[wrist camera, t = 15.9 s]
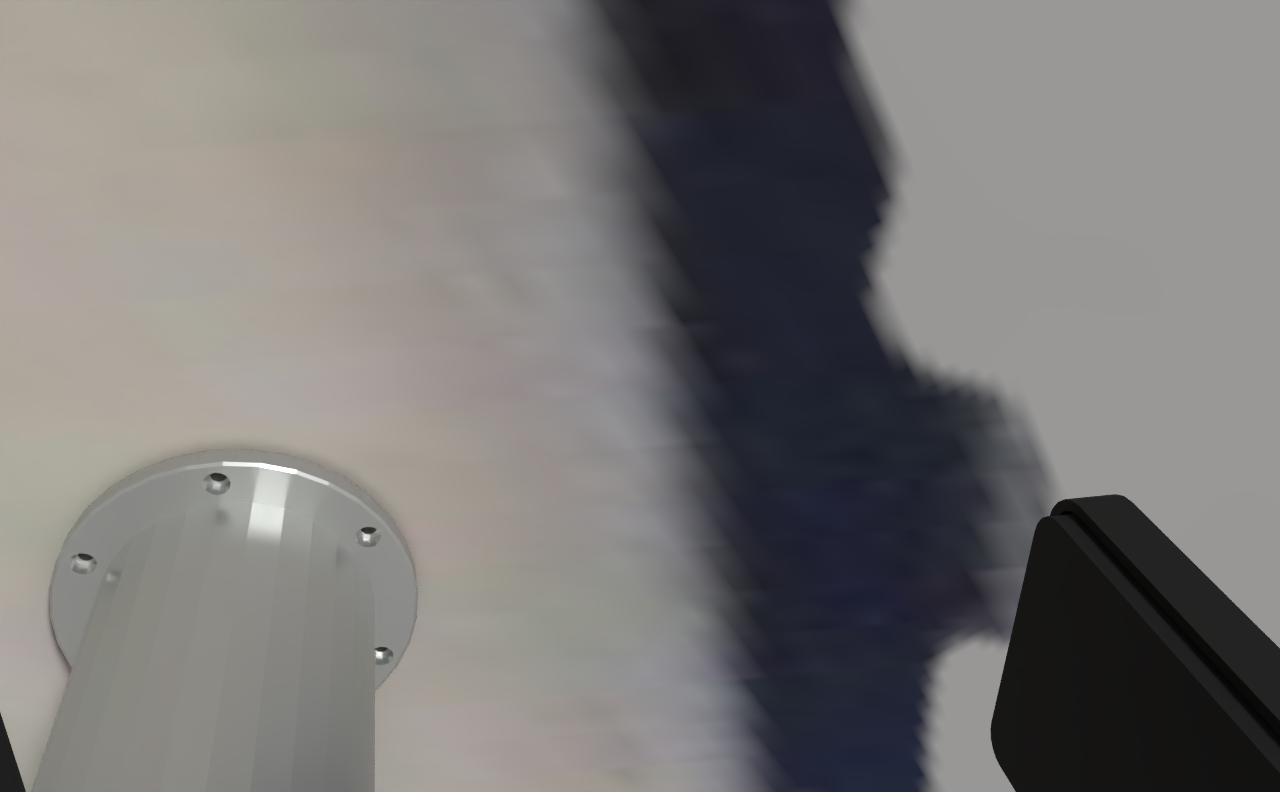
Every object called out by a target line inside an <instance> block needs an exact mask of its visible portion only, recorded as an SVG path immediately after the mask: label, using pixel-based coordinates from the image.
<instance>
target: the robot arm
mask: <svg viewBox="0 0 1280 792" xmlns="http://www.w3.org/2000/svg"><path fill="white" fill-rule="evenodd" d="M216 473H222V474H223V475H218V474H216ZM417 594H418V592H417V582H416V571H415V565H414V562H413V559H412V556H411V553H410V550H409V547H408V544H407V541H406V540H405V538H404V536H403V535H402V533H401V532H400V530H399V528H398V527H397V525H396V523H395V522H394V520H393V519H392V517H391V516H390V515H389V514H388V513H387V512H386V511H385V510H384V509H383V508H382V507H381V506H380V505H379V504H378V503H377V501H376V500H375V499H374V498H373V497H372V496H371V495H369V494H368V493H366V492H365V491H364V490H362V489H361V488H359V487H358V486H356V485H355V484H354V483H352V482H351V481H349V480H348V479H347V478H345V477H343V476H341V475H339V474H337V473H334V472H332V471H330V470H328V469H326V468H324V467H322V466H319V465H317V464H315V463H312V462H309V461H305V460H302V459H298V458H294V457H291V456H287V455H284V454H280V453H271V452H263V451H254V450H246V449H239V450H214V451H203V452H198V453H193V454H188V455H183V456H178V457H173V458H170V459H167V460H164V461H162V462H159V463H157V464H154V465H151V466H149V467H146V468H143V469H141V470H138V471H136V472H135V473H133V474H131V475H130V476H128V477H126V478H125V479H123V480H121V481H120V482H118V483H116V484H115V485H113V486H111V487H110V488H108V489H107V490H106V491H105V492H104V493H103V494H102V495H101V496H100V497H98V498H97V499H96V500H95V501H94V502H93V503H92V504H91V505H90V506H89V507H88V508H86V509H85V511H84V512H83V513H82V515H81V516H80V518H79V519H78V521H77V522H76V523H75V525H74V526H73V528H72V529H71V530H70V532H69V533H68V535H67V537H66V540H65V542H64V544H63V547H62V549H61V551H60V554H59V556H58V558H57V561H56V564H55V568H54V572H53V576H52V580H51V584H50V588H49V595H50V619H51V622H52V626H53V629H54V633H55V636H56V640H57V643H58V645H59V647H60V649H61V650H62V652H63V654H64V656H65V658H66V659H67V661H68V663H69V665H70V666H71V668H72V670H71V673H70V676H69V679H68V682H67V685H66V688H65V691H64V694H63V697H62V700H61V703H60V706H59V709H58V712H57V715H56V718H55V721H54V724H53V727H52V730H51V734H50V737H49V740H48V743H47V746H46V749H45V752H44V755H43V758H42V761H41V764H40V767H39V770H38V773H37V776H36V779H35V782H34V785H33V788H32V791H31V792H375V690H376V689H377V688H379V687H380V686H381V684H382V683H383V682H384V681H385V680H386V678H387V677H388V676H389V675H390V674H391V673H392V671H393V670H394V669H395V668H396V667H397V665H398V663H399V662H400V660H401V658H402V656H403V654H404V652H405V650H406V649H407V647H408V645H409V643H410V640H411V636H412V633H413V629H414V626H415V622H416V618H417ZM991 741H992V746H993V750H994V753H995V756H996V759H997V761H998V763H999V765H1000V767H1001V768H1002V770H1003V771H1004V773H1005V775H1006V776H1007V778H1008V779H1009V781H1010V783H1011V785H1012V786H1013V788H1014V789H1015V791H1016V792H1280V648H1279V647H1278V646H1277V645H1276V644H1275V643H1274V642H1273V641H1272V640H1271V639H1270V638H1269V637H1267V635H1265V633H1263V632H1262V631H1261V630H1260V629H1259V628H1258V627H1257V626H1256V625H1255V624H1254V623H1253V622H1252V621H1251V620H1250V619H1249V618H1248V617H1247V616H1246V615H1245V614H1244V613H1243V612H1242V611H1241V610H1240V609H1239V608H1238V607H1237V606H1236V605H1235V604H1234V603H1233V602H1232V601H1231V600H1230V599H1229V598H1228V597H1227V596H1226V595H1225V594H1224V593H1223V592H1222V591H1221V590H1220V589H1219V588H1218V587H1217V586H1216V585H1215V584H1214V583H1213V582H1212V581H1211V580H1210V579H1209V578H1208V577H1207V576H1206V575H1205V574H1204V573H1203V572H1202V571H1201V570H1200V569H1199V568H1198V567H1197V566H1196V565H1195V564H1194V563H1193V562H1192V561H1191V560H1190V559H1189V558H1188V557H1187V556H1186V555H1185V554H1184V553H1183V552H1182V551H1181V550H1180V549H1179V548H1178V547H1177V546H1176V545H1175V544H1174V543H1173V542H1172V541H1171V540H1170V539H1169V538H1168V537H1167V536H1165V534H1164V533H1163V532H1162V531H1161V530H1160V529H1159V528H1158V527H1157V526H1156V525H1155V524H1154V523H1153V522H1152V521H1151V520H1150V519H1149V518H1148V517H1147V516H1145V514H1144V513H1143V512H1142V511H1141V510H1139V509H1138V507H1136V506H1135V505H1134V504H1133V503H1132V502H1131V501H1130V500H1128V499H1127V498H1126V497H1124V496H1121V495H1104V496H1095V497H1085V498H1075V499H1065V500H1062V501H1060V502H1058V503H1057V504H1056V505H1055V506H1054V508H1053V509H1052V511H1051V514H1050V516H1047V517H1044V518H1042V519H1041V520H1040V521H1039V522H1038V524H1037V526H1036V529H1035V533H1034V537H1033V542H1032V546H1031V550H1030V555H1029V559H1028V564H1027V568H1026V572H1025V577H1024V581H1023V586H1022V590H1021V594H1020V599H1019V603H1018V608H1017V612H1016V617H1015V621H1014V625H1013V630H1012V634H1011V639H1010V643H1009V647H1008V652H1007V656H1006V661H1005V665H1004V670H1003V674H1002V679H1001V683H1000V687H999V692H998V696H997V701H996V705H995V710H994V714H993V718H992V723H991ZM0 792H26V791H25V788H24V785H23V782H22V778H21V775H20V772H19V769H18V766H17V763H16V760H15V757H14V754H13V751H12V747H11V744H10V741H9V738H8V735H7V732H6V729H5V726H4V723H3V720H2V717H1V713H0Z"/></svg>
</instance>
